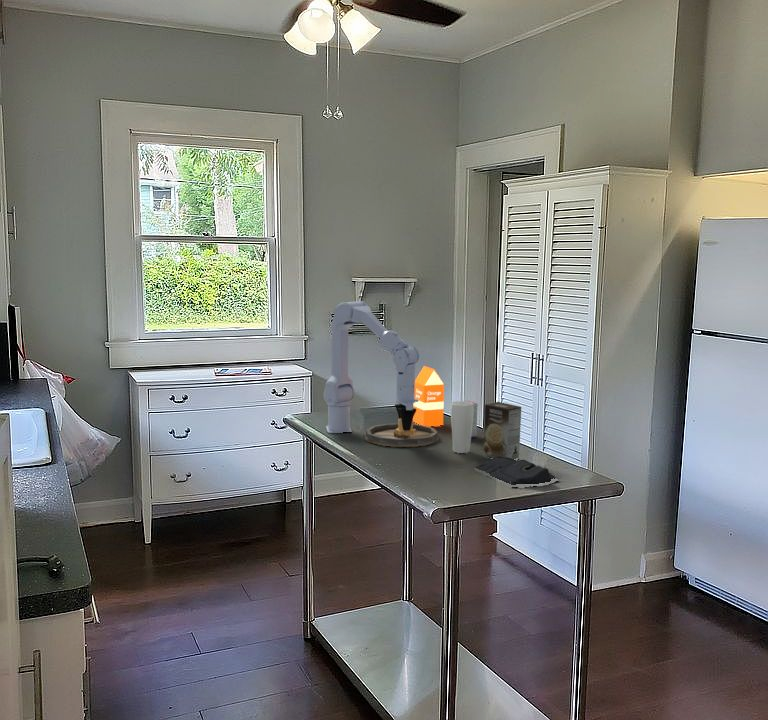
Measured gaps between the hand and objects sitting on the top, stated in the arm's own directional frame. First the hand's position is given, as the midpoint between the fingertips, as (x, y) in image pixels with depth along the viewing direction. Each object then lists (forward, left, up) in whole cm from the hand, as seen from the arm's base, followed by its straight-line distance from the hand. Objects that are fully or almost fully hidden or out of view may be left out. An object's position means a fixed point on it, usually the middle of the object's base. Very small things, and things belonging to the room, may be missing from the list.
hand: (405, 428), depth 246 cm
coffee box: (+22, +25, -5) cm, 33 cm away
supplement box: (-6, +21, -5) cm, 22 cm away
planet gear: (0, 0, -2) cm, 2 cm away
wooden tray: (-6, 0, -5) cm, 8 cm away
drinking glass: (+13, +15, -5) cm, 20 cm away
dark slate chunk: (+39, +23, -6) cm, 46 cm away
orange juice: (-26, +13, -5) cm, 30 cm away
